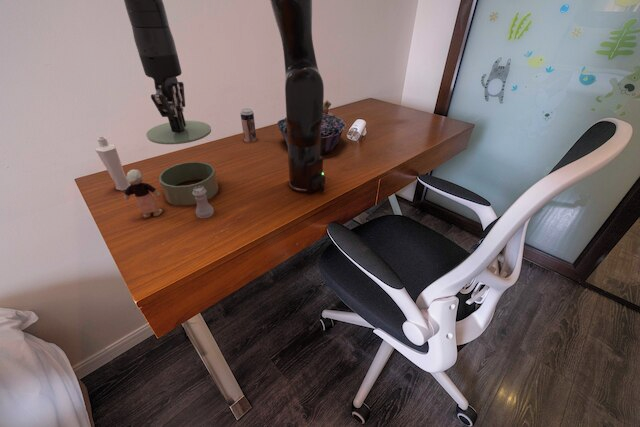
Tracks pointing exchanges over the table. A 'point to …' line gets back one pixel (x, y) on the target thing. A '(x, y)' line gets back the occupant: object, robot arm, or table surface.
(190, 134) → the pot lid
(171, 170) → the pot
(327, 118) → the decorative bowl
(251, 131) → the beer can
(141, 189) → the grandmother figurine
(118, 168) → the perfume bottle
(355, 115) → the table surface
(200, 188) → the rook chess piece
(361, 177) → the table surface
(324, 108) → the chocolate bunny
